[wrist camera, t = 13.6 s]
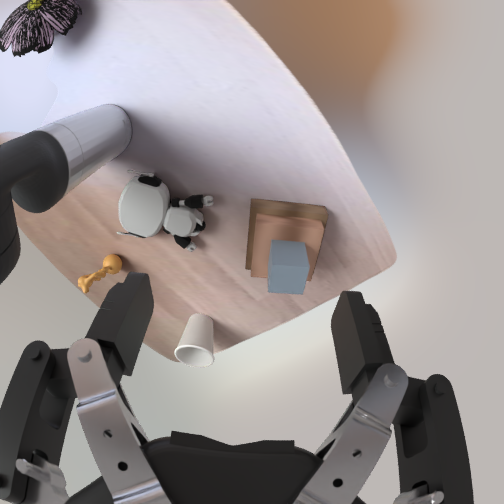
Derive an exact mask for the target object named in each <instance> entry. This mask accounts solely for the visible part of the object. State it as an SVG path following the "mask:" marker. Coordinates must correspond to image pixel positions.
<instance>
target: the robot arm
mask: <svg viewBox="0 0 504 504" xmlns="http://www.w3.org/2000/svg"><path fill="white" fill-rule="evenodd" d="M131 134H132V128H131V123H130V120H129V117H128V116H127V114H126V113H125V112H124V111H123V110H122V109H121V108H120V107H118V106H115V105H112V104H105V105H101V106H98V107H94V108H91V109H88V110H85V111H82V112H79V113H76V114H74V115H71V116H68V117H65V118H63V119H60V120H58V121H55V122H53V123H50V124H48V125H45V126H43V127H41V128H39V129H37V130H34V131H32V132H30V133H27V134H25V135H23V136H20V137H18V138H15V139H13V140H10V141H8V142H6V143H3V144H1V145H0V284H1V283H2V282H3V281H4V280H5V279H6V278H7V277H8V275H9V274H10V273H11V271H12V270H13V269H14V267H15V265H16V263H17V261H18V259H19V256H20V249H21V248H20V238H19V233H18V228H17V223H16V218H15V213H14V207H13V202H12V199H13V200H14V201H15V202H16V203H17V204H18V205H19V206H20V207H21V208H23V209H24V210H26V211H29V212H32V213H42V212H45V211H47V210H48V209H50V208H51V207H53V206H54V205H55V204H56V203H57V202H58V201H59V200H61V199H62V198H63V197H64V196H65V195H66V194H68V193H69V192H70V191H71V190H72V189H74V188H75V187H76V186H77V185H79V184H80V183H81V182H82V181H84V180H85V179H86V178H88V177H89V176H90V175H91V174H93V173H94V172H95V171H97V170H98V169H100V168H101V167H102V166H104V165H105V164H106V163H108V162H109V161H111V160H112V159H114V158H115V157H116V156H118V155H119V154H121V153H122V152H123V151H124V150H125V149H126V148H127V146H128V144H129V142H130V139H131ZM153 308H154V300H153V295H152V290H151V285H150V280H149V276H148V274H146V273H137V272H129V274H128V275H127V277H126V279H125V281H124V283H117V284H116V285H115V286H113V287H112V288H111V289H110V290H109V292H108V294H107V295H106V297H105V299H104V301H103V303H102V305H101V307H100V309H99V311H98V313H97V315H96V317H95V318H94V320H93V323H92V325H91V327H90V329H89V331H88V333H87V335H86V337H85V338H84V339H80V340H77V341H76V342H74V343H73V344H72V345H71V347H70V348H67V349H50V348H49V346H48V345H47V344H46V343H45V342H43V341H34V342H32V343H30V344H29V345H28V346H27V347H26V348H25V349H24V351H23V353H22V355H21V358H20V360H19V362H18V365H17V367H16V369H15V371H14V374H13V376H12V379H11V381H10V384H9V386H8V389H7V391H6V394H5V397H4V400H3V403H2V405H1V408H0V499H2V500H5V501H8V502H10V503H12V504H366V503H365V502H363V501H362V500H361V499H360V498H359V497H358V496H357V494H358V493H359V491H360V490H361V488H362V487H363V485H364V484H365V482H366V480H367V479H368V477H369V475H370V473H371V472H372V470H373V469H374V467H375V465H376V463H377V462H378V460H379V458H380V456H381V454H382V452H383V450H384V449H385V447H386V445H387V443H388V441H389V439H390V437H391V433H392V431H391V430H390V425H391V423H392V424H394V430H395V438H396V447H397V456H398V465H399V478H400V495H399V496H398V497H397V498H396V499H395V501H394V503H393V504H474V501H473V489H472V479H471V471H470V464H469V458H468V452H467V446H466V441H465V436H464V431H463V427H462V422H461V418H460V414H459V410H458V406H457V402H456V398H455V395H454V391H453V388H452V385H451V383H450V381H449V380H448V379H447V378H446V377H445V376H443V375H440V374H434V375H431V376H430V377H429V378H428V379H427V380H426V381H425V380H421V379H416V378H411V377H408V376H407V374H406V373H405V371H404V370H403V369H402V368H401V367H400V366H398V365H396V364H395V363H394V361H393V357H392V354H391V351H390V347H389V344H388V341H387V338H386V335H385V333H384V329H383V326H382V325H381V321H380V318H379V315H378V313H377V312H376V310H375V309H374V308H373V307H372V305H371V304H365V302H364V299H363V296H362V293H361V292H357V291H342V293H341V295H340V297H339V300H338V303H337V305H336V308H335V310H334V313H333V315H332V319H331V330H332V335H333V340H334V346H335V351H336V356H337V362H338V368H339V373H340V380H341V386H342V392H343V394H352V398H353V400H352V401H351V403H350V404H349V406H348V408H347V409H346V411H345V412H344V414H343V415H342V417H341V418H340V420H339V421H338V423H337V424H336V426H335V427H334V429H333V430H332V432H331V433H330V435H329V436H328V437H327V439H326V440H325V441H324V442H323V443H322V444H321V446H320V447H319V448H318V449H317V451H316V452H315V453H314V454H313V453H311V452H309V451H307V450H305V449H302V448H299V447H295V446H294V440H291V441H288V440H287V441H285V440H284V441H283V440H282V441H279V440H278V441H276V440H263V441H258V442H253V443H247V444H241V445H234V446H232V445H228V444H225V443H222V442H219V441H216V440H213V439H210V438H207V437H205V436H202V435H195V434H189V433H182V432H177V431H172V432H171V437H163V438H158V439H155V440H152V441H149V439H148V437H147V436H146V434H145V432H144V430H143V429H142V427H141V425H140V424H139V422H138V420H137V418H136V416H135V414H134V412H133V410H132V408H131V406H130V404H129V401H128V399H127V397H126V395H125V392H124V390H123V388H122V385H121V383H120V381H121V378H122V375H127V376H131V375H132V372H133V369H134V366H135V363H136V360H137V356H138V353H139V351H140V347H141V345H142V342H143V339H144V336H145V333H146V330H147V327H148V324H149V322H150V319H151V316H152V313H153ZM75 398H78V400H79V404H78V405H77V412H78V416H79V419H80V422H81V425H82V428H83V431H84V433H85V436H86V438H87V441H88V444H89V446H90V449H91V451H92V454H93V456H94V459H95V461H96V463H97V465H98V468H99V470H100V472H101V474H102V476H101V477H99V478H98V479H96V480H95V481H94V482H92V483H91V484H90V485H88V486H86V487H85V488H83V489H82V490H80V491H79V492H77V493H76V494H74V495H73V496H71V497H69V496H68V494H67V492H66V490H65V486H66V481H65V478H64V475H63V473H62V471H61V469H60V468H59V462H60V457H61V452H62V447H63V443H64V439H65V434H66V430H67V426H68V422H69V419H70V414H71V411H72V408H73V404H74V401H75Z"/></svg>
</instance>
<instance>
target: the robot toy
mask: <svg viewBox="0 0 504 504" xmlns="http://www.w3.org/2000/svg"><path fill="white" fill-rule="evenodd" d="M128 172H129V173H137V174H141V176H135V177H134V178H133V179H131V180H130V181H129V183H128V184H127V185H126V187H125V188H124V190H123V192H122V194H121V197H120V200H119V219H120V223H121V225H122V226H123V228H124V229H125V230H126V231H128V232H129V233H130V234H129V233H122V232H117V234H120V235H121V234H123V235H130V236H136V237H138V238H139V237H142V238H146V237H152V236H154V235H155V234H157V233H158V232H159V230H160V229H161V227H162V225H163V223H164V229H163V231H164V232H166V233H167V234H169V233H171V234H172V235H173V236H174V239H175V241H176V243H177V244H179V245H180V246H181V247H182V248H186V247H187V249H188V250H189V251H191V252H192V251H194V249H196V248H197V246H196V244H195V243H194V242H191V238H190V237H188V236H196V235H197V234H199V232H200V231H202V230H204V228H205V226H206V224H205V222H204V221H203V214H202V213H200V212H199V211H198V210H197V209H196V208H203V205H206V206H211V205H213V201H210V200H213V197H212V196H205V197H203V195H192V196H190V197H189V198H187V199H186V200H180V199H179V198H175V199H172V201H171V204H170V206H169V203H170V194H169V190H168V188H167V186H166V185H165V184H164V183H162V180H161V179H159V178H158V177H156V176H153V175H154V174H153V173H150V174H148V173H142V172H137V171H133V170H128Z"/></svg>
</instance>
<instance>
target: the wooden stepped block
mask: <svg viewBox="0 0 504 504" xmlns="http://www.w3.org/2000/svg"><path fill="white" fill-rule="evenodd" d="M327 218H328V213H327V211H326V208H325V206H318V205H310V204H301V203H291V202H282V201H272V200H261V199H251V209H250V220H249V232H248V244H247V256H246V267H245V269H248V270H251V277H262V278H268V261H269V254H270V246H271V239H272V240H284V241H296V242H305V247H306V252H307V256H308V261H309V266H310V268H309V272H308V276H307V280H306V281H311V279H312V275H313V273H314V269H315V266H316V262H317V258H318V254H319V250H320V247H321V243H322V239H323V235H324V231H325V227H326V222H327Z"/></svg>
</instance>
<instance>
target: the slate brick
mask: <svg viewBox="0 0 504 504" xmlns="http://www.w3.org/2000/svg"><path fill="white" fill-rule="evenodd" d="M309 268H310V266H309V261H308V256H307V252H306V247H305V242H296V241H284V240H272V239H271V246H270V254H269V261H268V292H272V293H287V294H303V291H304V288H305V284H306V280H307V276H308V272H309Z"/></svg>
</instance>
